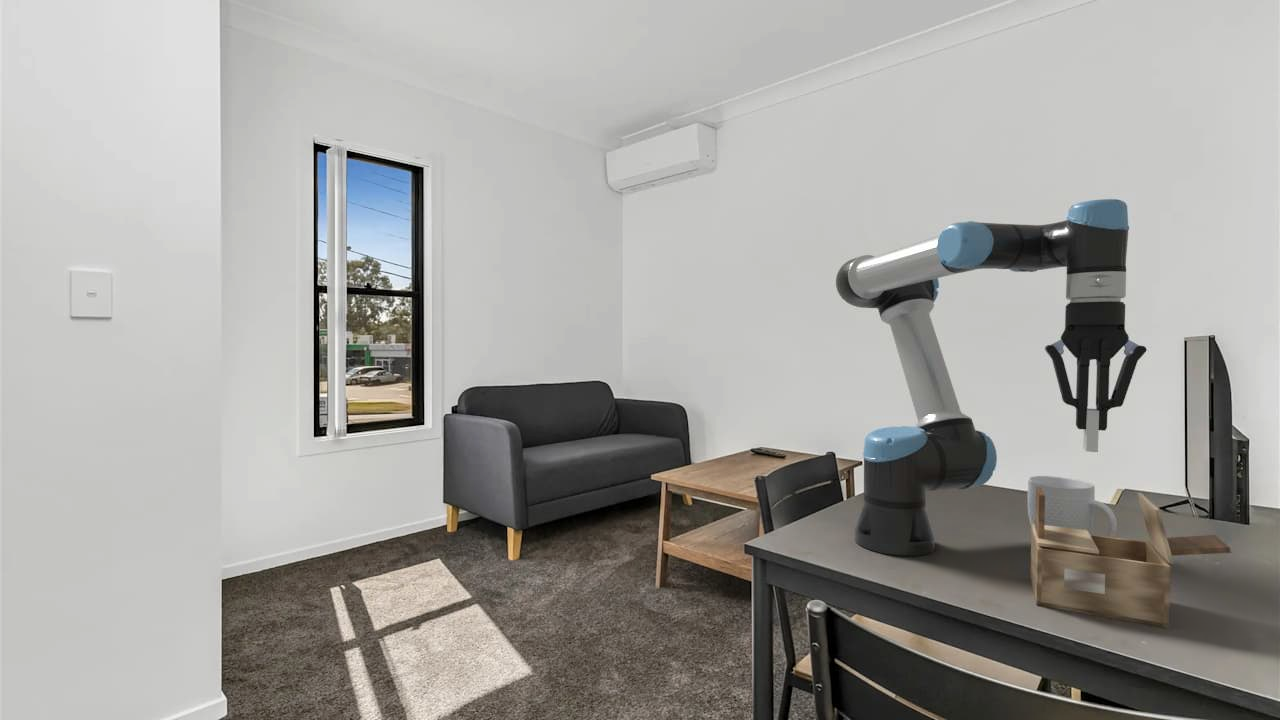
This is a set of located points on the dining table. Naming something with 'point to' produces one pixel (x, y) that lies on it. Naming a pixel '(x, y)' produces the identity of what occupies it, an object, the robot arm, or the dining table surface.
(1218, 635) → the dining table surface
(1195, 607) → the dining table surface
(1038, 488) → the left flap
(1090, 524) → the mug
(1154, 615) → the carton
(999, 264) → the robot arm
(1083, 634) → the dining table surface
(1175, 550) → the right flap
